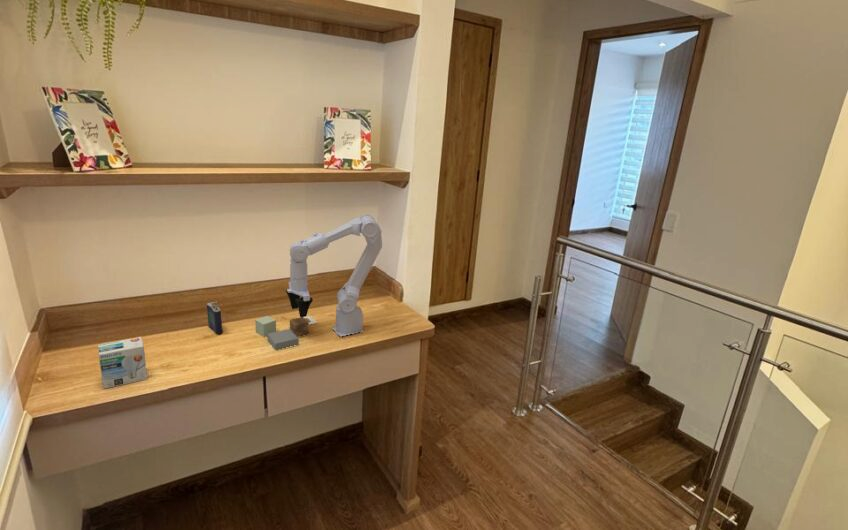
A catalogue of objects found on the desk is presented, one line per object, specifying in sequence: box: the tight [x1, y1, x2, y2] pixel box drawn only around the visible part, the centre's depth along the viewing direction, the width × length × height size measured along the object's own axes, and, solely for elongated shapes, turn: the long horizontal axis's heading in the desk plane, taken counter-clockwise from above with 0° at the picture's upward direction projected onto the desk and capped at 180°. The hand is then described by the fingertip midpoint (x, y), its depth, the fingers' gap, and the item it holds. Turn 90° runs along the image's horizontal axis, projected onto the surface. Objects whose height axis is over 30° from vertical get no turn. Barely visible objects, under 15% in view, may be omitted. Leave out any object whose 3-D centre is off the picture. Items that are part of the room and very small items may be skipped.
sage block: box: [254, 315, 277, 338], centre depth 161 cm, size 5×5×5 cm
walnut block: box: [289, 317, 310, 338], centre depth 162 cm, size 5×5×5 cm
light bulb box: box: [97, 336, 148, 390], centre depth 128 cm, size 11×7×11 cm, turn 126°
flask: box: [206, 301, 224, 336], centre depth 159 cm, size 9×3×11 cm, turn 43°
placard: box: [304, 315, 318, 326], centre depth 172 cm, size 7×7×1 cm
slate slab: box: [266, 328, 300, 351], centre depth 156 cm, size 8×8×3 cm
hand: (299, 312), depth 161 cm, fingers open, 7 cm apart
